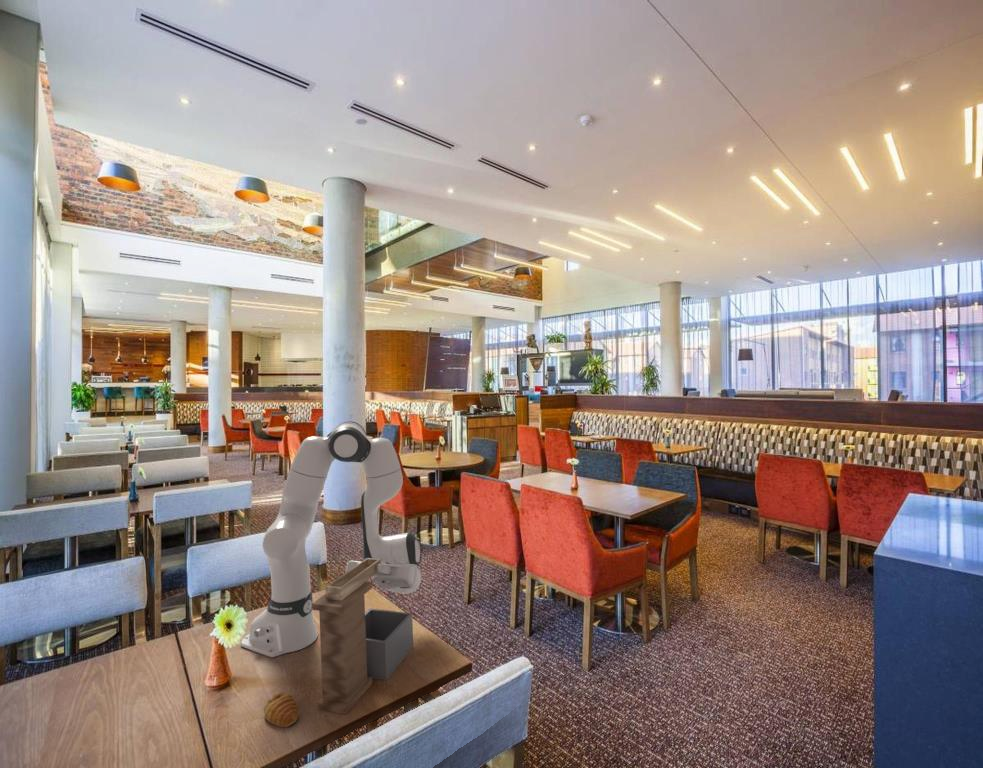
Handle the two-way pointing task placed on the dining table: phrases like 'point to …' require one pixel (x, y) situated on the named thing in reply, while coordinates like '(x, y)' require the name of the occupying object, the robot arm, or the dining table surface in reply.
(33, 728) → the dining table surface
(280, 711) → the pastry
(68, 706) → the dining table surface
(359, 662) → the walnut pedestal
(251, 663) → the dining table surface
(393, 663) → the charcoal crate
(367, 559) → the birch crate
